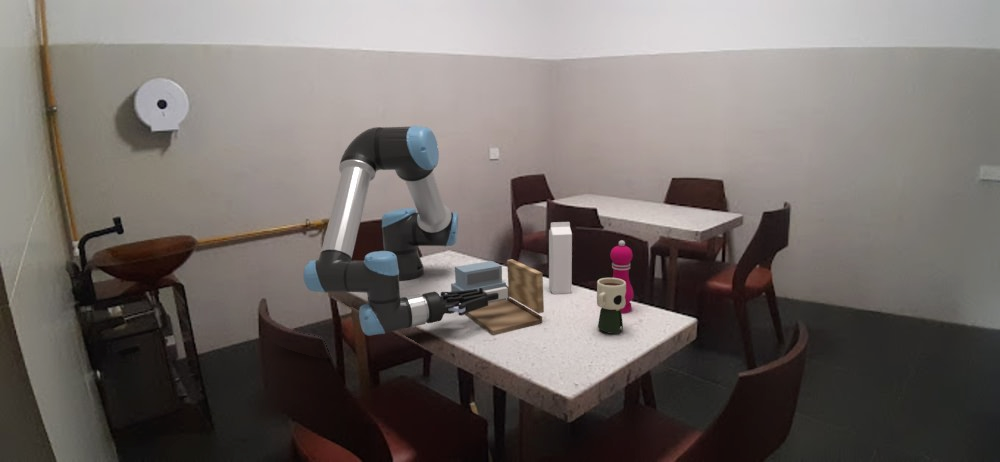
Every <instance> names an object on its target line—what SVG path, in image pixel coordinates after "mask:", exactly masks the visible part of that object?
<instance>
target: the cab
mask: <svg viewBox="0 0 1000 462" xmlns="http://www.w3.org/2000/svg"><path fill="white" fill-rule="evenodd" d="M502 267H503V266H502V265H501V264H499V263H497V262H495V261H494V260H487V261H481V262H476V263H469V264H464V265H463V264H462V265H459V266H458V265H457V266H454V275H455V276H454V277H455V282H452V283H450V290H451V291H450V292H453V291H463V290H472V289H477V291H479V288H483V292H484V291H486V290H491V289H496V288H501V287H506V288H508V285H507V282H505V281H504V280H503V268H502ZM508 297H509V288H508ZM509 298H510V297H509ZM502 300H507V298H504V299H499V300H494V301H490V302H488V303H492V302H497V301H502Z"/></svg>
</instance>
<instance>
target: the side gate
mask: <svg viewBox="0 0 1000 462" xmlns="http://www.w3.org/2000/svg"><path fill="white" fill-rule="evenodd" d="M506 265H507V267H506V268H507V284H508V285H507V286H508V288H509V298H511V299H513V300H514V301H516V302H518V303H520V304H521V305H523V306H525V307H526V308H528V309H530V310H532V311H533V312H535V313H537V314H543V313H544V312H545V305H544V303H545V302H544V281H543V280H544V279H543V278H544V276H543V275H544V273H543V272H541V271H539V270H537V269H535V268H533V267H530V266H527V265H526V264H524V263H521V262H519V261H517V260H515V259H513V258H511V259H507V260H506Z"/></svg>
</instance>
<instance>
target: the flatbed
mask: <svg viewBox="0 0 1000 462" xmlns="http://www.w3.org/2000/svg"><path fill="white" fill-rule="evenodd" d="M465 315H466V316H467V317H468V318H470V319H471V320H473V322H474V323H476V324H477V325H478V326H480V327H482V328H483V329H484V330H485V331H486V332H488V333H490V335H493V336H495V335H500V334H502V333H503V334H504V333H508V332H512V331H515V330H520V329H525V328H528V327H531V326H536V325H540V324H543V316H542V315H540V314H539V313H537V312H535V311H533V310H532V309H530V308H528V307H527V306H525V305H523V304H521V303H520V302H518V301H516V300H514V299H513V298H511V297H508V298H507V299H506V300H502V301H497V302H492V303H488V306H485V307H482V308H480V309H477V310H474V311H471V312H468V313H466V314H465Z"/></svg>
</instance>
